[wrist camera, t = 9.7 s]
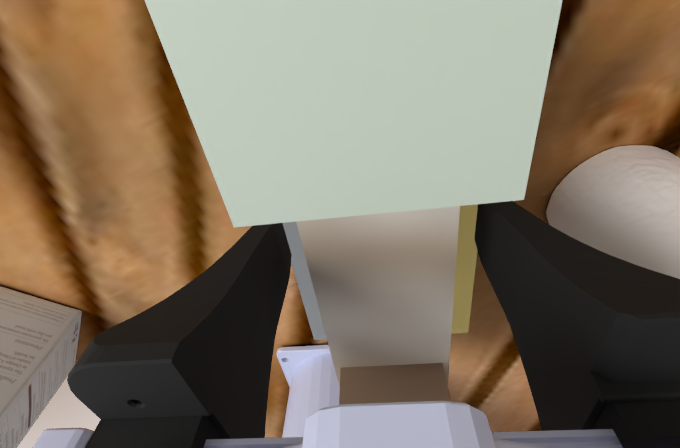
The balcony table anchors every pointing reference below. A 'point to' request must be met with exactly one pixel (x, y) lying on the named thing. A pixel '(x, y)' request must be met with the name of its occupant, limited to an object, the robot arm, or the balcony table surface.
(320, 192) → the block
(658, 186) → the white squeeze bottle
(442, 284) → the pallet
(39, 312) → the supplement box
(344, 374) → the brown cube
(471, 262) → the loading dock
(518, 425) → the balcony table surface
